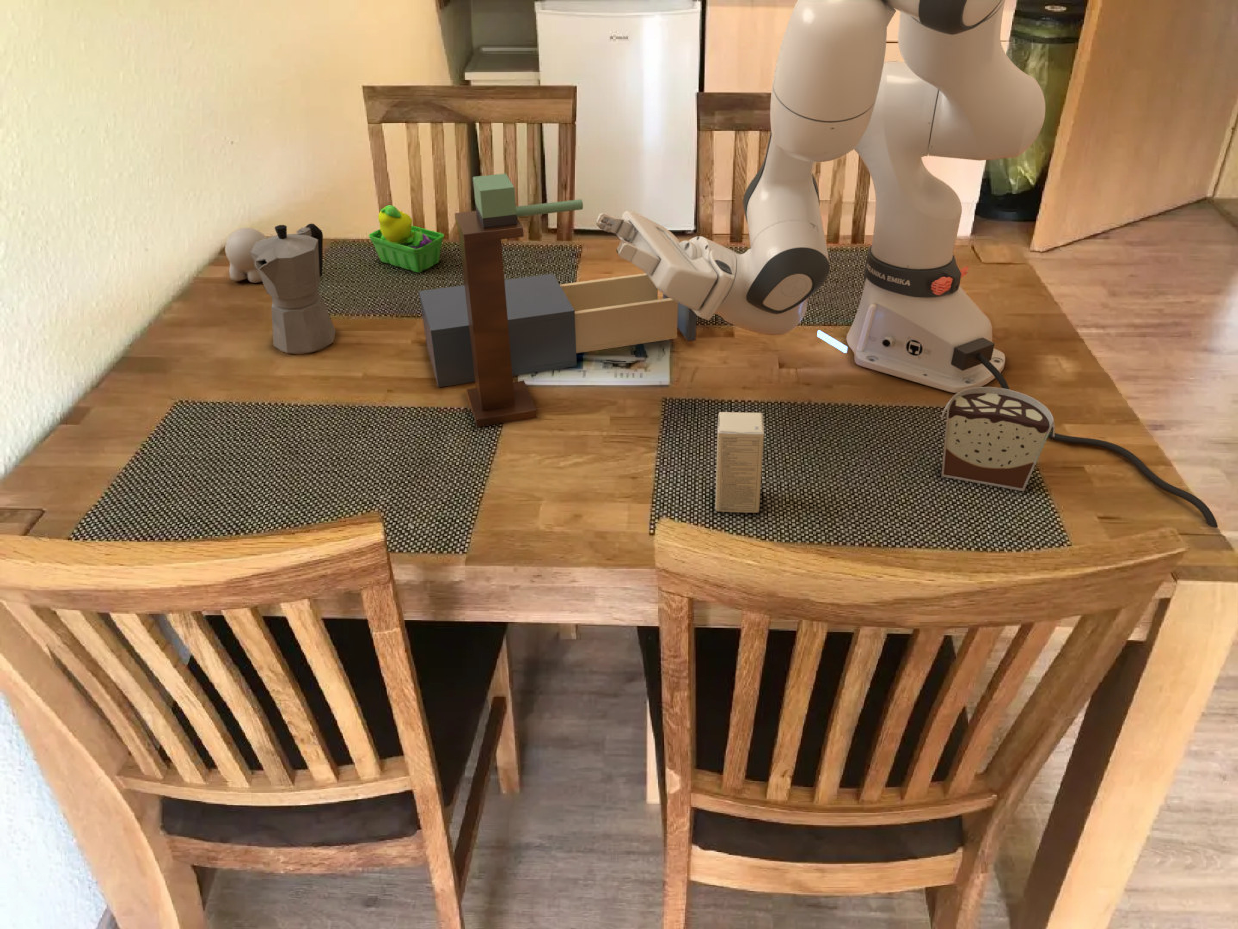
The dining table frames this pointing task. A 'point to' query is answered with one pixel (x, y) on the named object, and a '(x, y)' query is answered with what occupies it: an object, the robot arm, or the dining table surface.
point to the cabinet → (533, 323)
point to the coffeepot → (295, 288)
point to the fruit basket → (405, 241)
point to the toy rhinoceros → (243, 254)
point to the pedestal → (490, 324)
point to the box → (739, 462)
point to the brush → (509, 202)
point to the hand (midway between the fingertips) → (609, 233)
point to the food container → (994, 436)
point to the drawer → (625, 313)
